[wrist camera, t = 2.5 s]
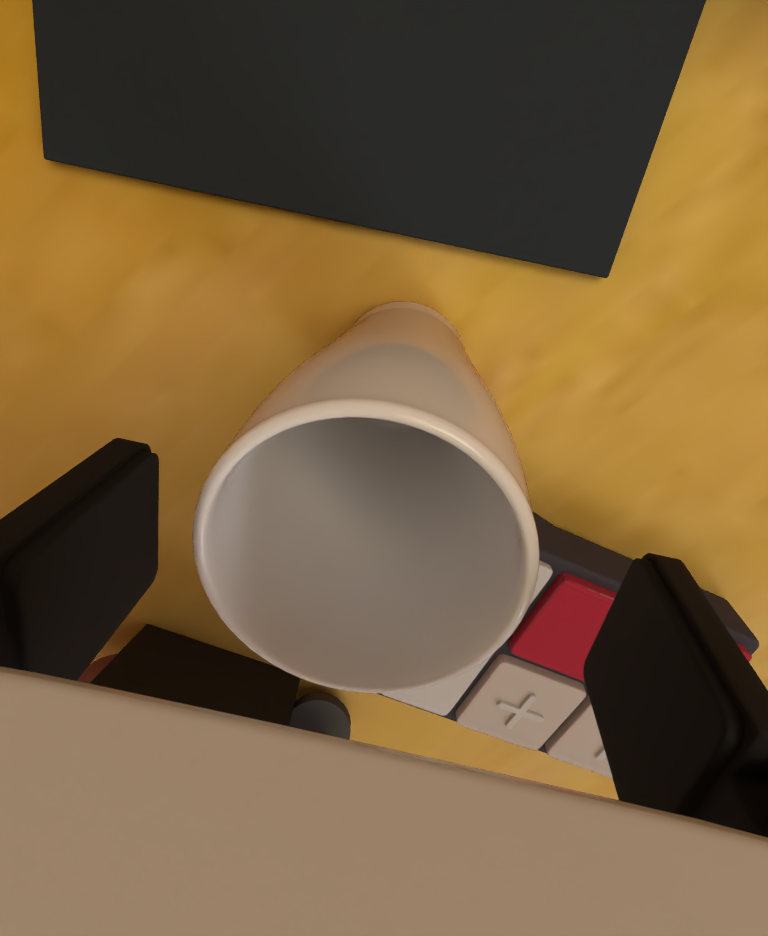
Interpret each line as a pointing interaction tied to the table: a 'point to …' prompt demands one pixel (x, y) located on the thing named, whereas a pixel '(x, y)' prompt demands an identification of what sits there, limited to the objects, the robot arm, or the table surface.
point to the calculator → (551, 657)
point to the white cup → (372, 514)
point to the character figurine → (215, 682)
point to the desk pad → (378, 109)
